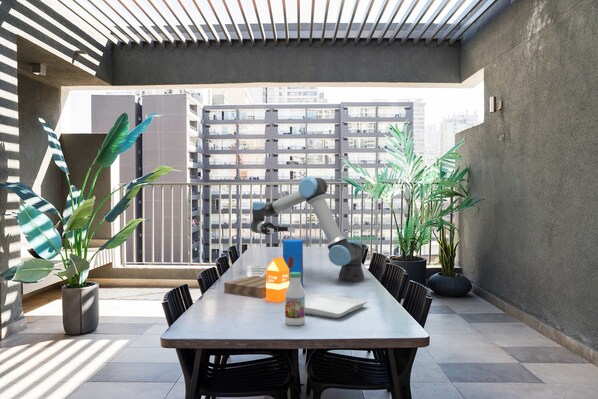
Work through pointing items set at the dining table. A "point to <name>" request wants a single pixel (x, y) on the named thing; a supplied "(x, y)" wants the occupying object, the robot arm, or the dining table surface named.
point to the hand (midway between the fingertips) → (284, 230)
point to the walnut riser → (247, 287)
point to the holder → (256, 271)
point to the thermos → (293, 256)
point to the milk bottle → (295, 301)
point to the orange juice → (277, 280)
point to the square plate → (331, 305)
